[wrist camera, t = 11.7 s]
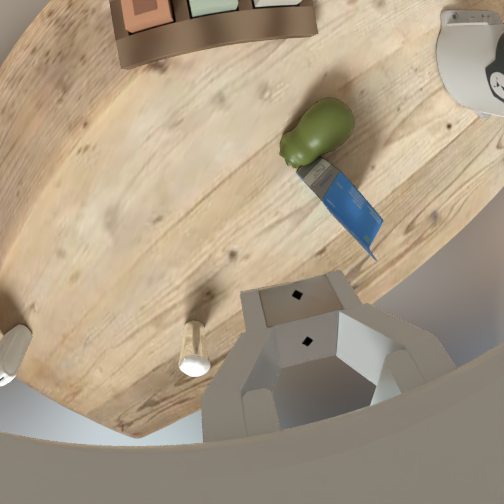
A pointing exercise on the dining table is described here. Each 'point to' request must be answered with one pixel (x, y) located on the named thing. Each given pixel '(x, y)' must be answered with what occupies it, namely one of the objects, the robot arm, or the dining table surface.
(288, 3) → the key ivory
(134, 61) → the keypad base
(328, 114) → the pear
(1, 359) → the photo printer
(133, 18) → the key rust
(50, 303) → the dining table surface
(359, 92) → the dining table surface
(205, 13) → the key sage
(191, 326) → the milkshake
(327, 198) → the label tape cartridge
